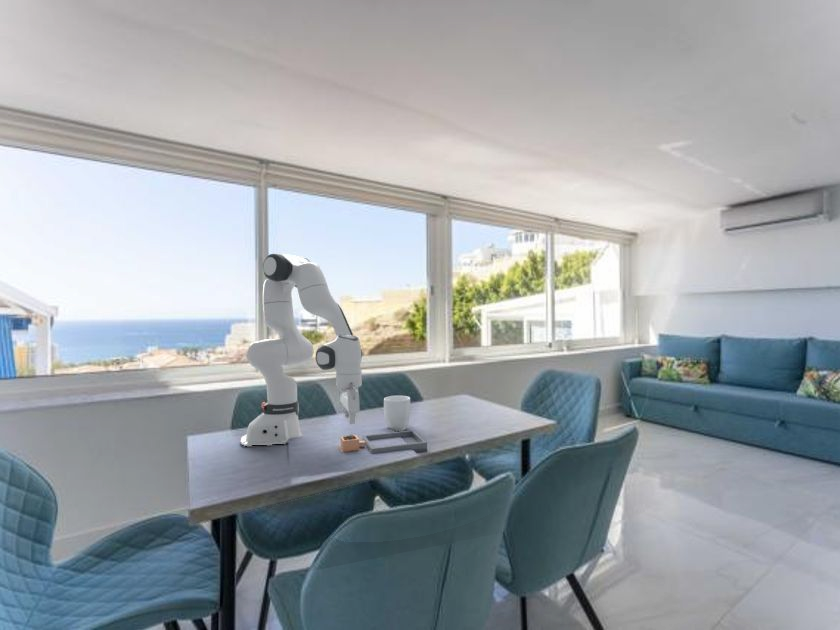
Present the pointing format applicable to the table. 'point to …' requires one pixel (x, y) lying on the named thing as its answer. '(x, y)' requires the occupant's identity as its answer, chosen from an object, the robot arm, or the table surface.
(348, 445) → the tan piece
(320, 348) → the robot arm
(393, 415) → the mug
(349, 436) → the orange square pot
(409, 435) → the tray
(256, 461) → the table surface
